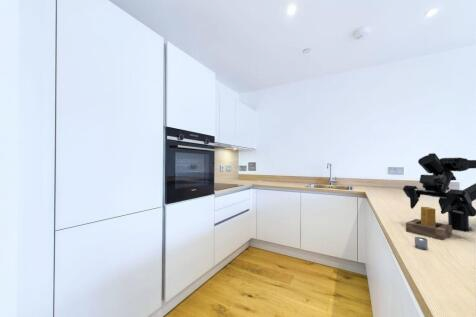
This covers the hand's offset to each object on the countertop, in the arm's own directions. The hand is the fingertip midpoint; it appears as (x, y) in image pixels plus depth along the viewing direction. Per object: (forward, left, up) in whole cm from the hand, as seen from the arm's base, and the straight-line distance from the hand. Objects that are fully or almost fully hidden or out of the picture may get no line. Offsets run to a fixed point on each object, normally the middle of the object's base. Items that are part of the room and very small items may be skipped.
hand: (425, 210), depth 75 cm
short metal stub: (+19, +4, -9) cm, 21 cm away
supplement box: (-1, 0, -9) cm, 9 cm away
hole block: (-1, 0, -9) cm, 9 cm away
